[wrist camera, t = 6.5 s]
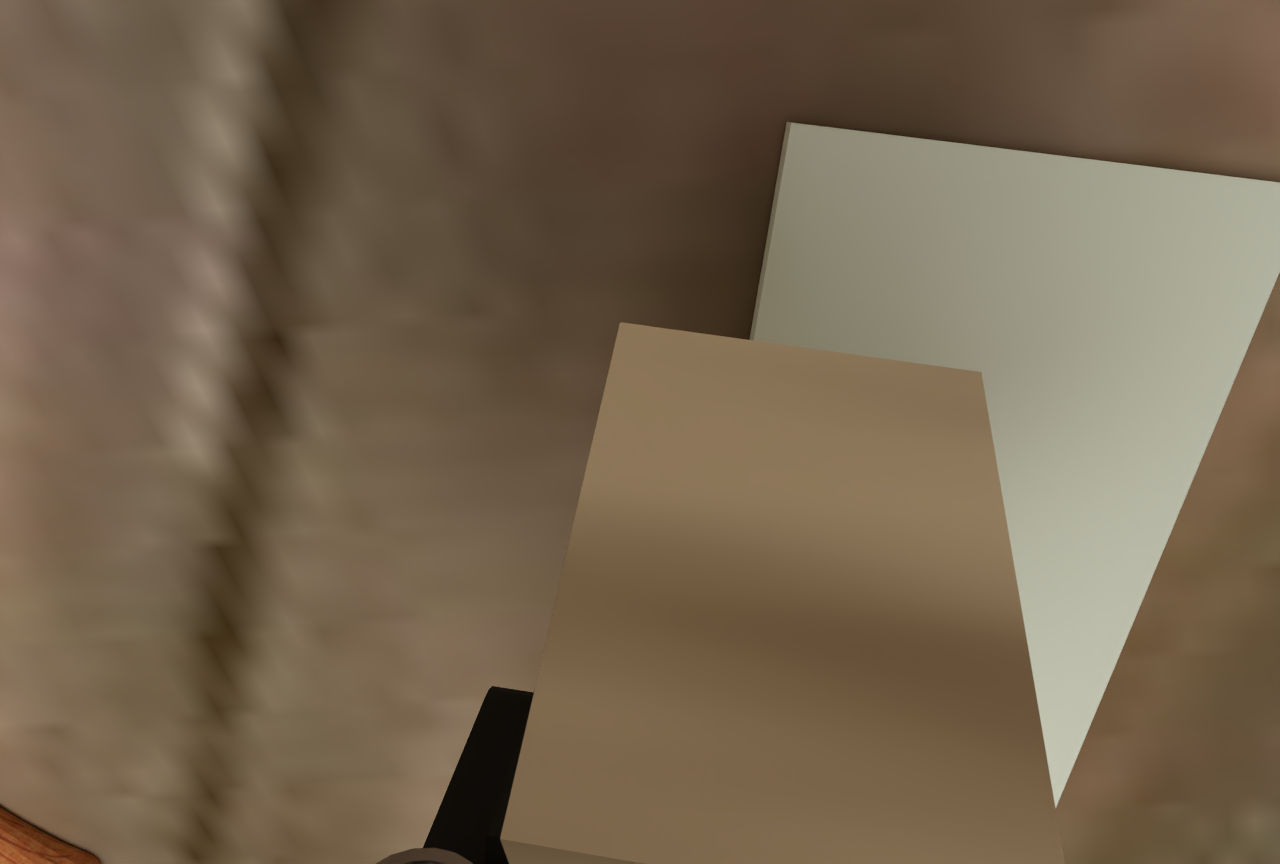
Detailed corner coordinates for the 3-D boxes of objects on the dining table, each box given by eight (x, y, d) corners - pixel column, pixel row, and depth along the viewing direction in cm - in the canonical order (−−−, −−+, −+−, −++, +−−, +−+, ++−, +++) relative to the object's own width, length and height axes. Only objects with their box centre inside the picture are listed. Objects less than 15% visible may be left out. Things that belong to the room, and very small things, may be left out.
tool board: (786, 122, 17) (791, 123, 16) (1280, 182, 16) (1314, 187, 15) (657, 877, 25) (655, 907, 24) (981, 927, 25) (992, 959, 24)
